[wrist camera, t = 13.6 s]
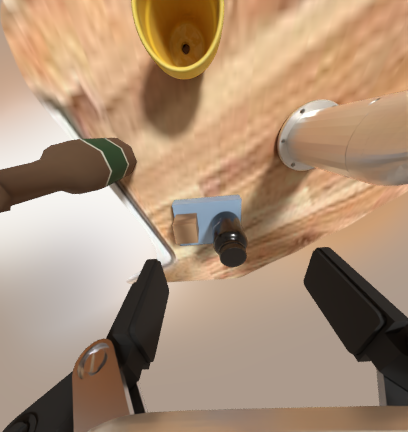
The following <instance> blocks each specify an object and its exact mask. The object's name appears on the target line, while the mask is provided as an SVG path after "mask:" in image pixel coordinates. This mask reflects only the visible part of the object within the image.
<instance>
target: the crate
mask: <svg viewBox="0 0 408 432" xmlns="http://www.w3.org/2000/svg"><path fill="white" fill-rule="evenodd" d="M172 227H173V232H174V236H175V241H176V244H188V243H198V239H199V227H198V219H197V213H189V214H176V216H175V219H174V222H173V224H172Z"/></svg>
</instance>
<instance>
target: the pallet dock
mask: <svg viewBox="0 0 408 432" xmlns="http://www.w3.org/2000/svg"><path fill="white" fill-rule="evenodd" d="M172 208H173V213H174V217H175V216H176V214H189V213H197V219H198V227H199V239H198V243H188V244H180V246H184V245H198V244H212V243H213V236H212V220H213V218H214V217H215V216H216V215H217V214H218V213H220V212H224V211H229V212H233V213H234V214H236V215H237V216H238V218H239V220H240V223H241V198H240V196H239V195H229V196H218V197H206V198H195V199H183V200H174V202H173V204H172Z"/></svg>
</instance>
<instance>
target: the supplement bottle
mask: <svg viewBox="0 0 408 432" xmlns="http://www.w3.org/2000/svg"><path fill="white" fill-rule="evenodd" d="M212 236H213V247H214V249H215V251H216V252H217V253H218V254H219V256H220V261H221V262H222V263H223V264H224V265H226V266H228V267H237V266H239V265H241V264H243V263H244V262H245V260H246V257H247V255H246V250H245V249H246V247H247V238H246V235H245V233H244V230H243V228H242V225H241V223H240V220H239V218H238V216H237V215H236V214H234V213H233V212H229V211H224V212H220V213H218V214H217V215H216V216H215V217H214V218H213V220H212Z"/></svg>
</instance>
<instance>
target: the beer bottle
mask: <svg viewBox="0 0 408 432" xmlns="http://www.w3.org/2000/svg"><path fill="white" fill-rule="evenodd" d="M135 164H136V158H135V156H134V153H133V151H132V148H131V147H130V146H129V145H127V144H126V143H124V142H122V141H121V140H119V139H118V138H97V139H77V140H71V141H67V142H63V143H59V144H55V145H51V146H50V147H48V148H47V149H45V150H44V151H43V154H42V156H41V158H40V160H37V161H34V162H32V163H28V164H24V165H19V166H15V167H11V168H7V169H2V170H0V213H1V212H4V211H10V207H11V206H12V205H15V204H19V203H22V202H25V201H28V200H32V199H35V198H38V197H41V196H44V195H48V194H51V193H54V192H57V191H65V192H68V193H71V194H82V193H87V192H91V191H95V190H99V189H102V188H104V187H106V186H108V185H110V184H112V183H114V182H116V181H118V180H120V179H122V178H123V177H125V176H127V175H129V174H130V173H132V171H133V169H134V166H135Z"/></svg>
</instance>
